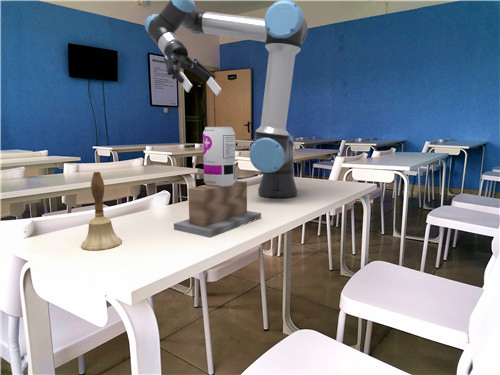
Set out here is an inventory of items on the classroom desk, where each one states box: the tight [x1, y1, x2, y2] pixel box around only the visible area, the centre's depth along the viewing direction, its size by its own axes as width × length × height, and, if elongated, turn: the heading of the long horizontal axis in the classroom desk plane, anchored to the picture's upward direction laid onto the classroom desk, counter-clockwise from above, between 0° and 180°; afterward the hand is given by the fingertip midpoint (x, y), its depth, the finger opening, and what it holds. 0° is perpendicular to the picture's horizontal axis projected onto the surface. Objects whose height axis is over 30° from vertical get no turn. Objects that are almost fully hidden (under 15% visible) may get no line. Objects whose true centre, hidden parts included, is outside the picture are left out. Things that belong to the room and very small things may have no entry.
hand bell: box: [80, 171, 123, 251], centre depth 75 cm, size 8×8×16 cm
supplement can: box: [202, 126, 236, 187], centre depth 91 cm, size 8×8×15 cm
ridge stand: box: [173, 179, 262, 238], centre depth 93 cm, size 22×12×10 cm, turn 145°
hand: (205, 90), depth 115 cm, fingers open, 13 cm apart
